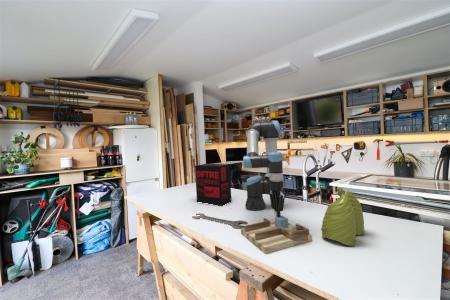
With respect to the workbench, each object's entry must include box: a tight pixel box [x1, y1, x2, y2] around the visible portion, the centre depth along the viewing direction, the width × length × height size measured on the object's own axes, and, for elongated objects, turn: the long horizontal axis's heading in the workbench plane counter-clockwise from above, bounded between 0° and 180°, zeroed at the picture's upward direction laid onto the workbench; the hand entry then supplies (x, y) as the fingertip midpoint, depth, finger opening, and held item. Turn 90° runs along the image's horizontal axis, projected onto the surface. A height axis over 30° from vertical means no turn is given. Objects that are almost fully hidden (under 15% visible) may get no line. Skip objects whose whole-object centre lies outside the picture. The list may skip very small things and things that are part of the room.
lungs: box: [320, 187, 366, 247], centre depth 109 cm, size 25×16×24 cm, turn 132°
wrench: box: [191, 212, 249, 230], centre depth 139 cm, size 42×10×2 cm, turn 54°
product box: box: [194, 163, 232, 207], centre depth 184 cm, size 26×14×32 cm, turn 54°
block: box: [274, 215, 289, 229], centre depth 117 cm, size 5×5×5 cm
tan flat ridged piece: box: [240, 217, 313, 254], centre depth 112 cm, size 24×27×6 cm
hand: (277, 222), depth 120 cm, fingers closed
